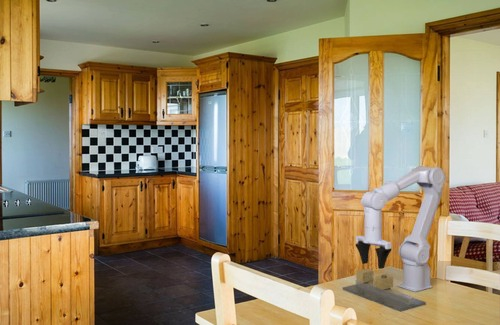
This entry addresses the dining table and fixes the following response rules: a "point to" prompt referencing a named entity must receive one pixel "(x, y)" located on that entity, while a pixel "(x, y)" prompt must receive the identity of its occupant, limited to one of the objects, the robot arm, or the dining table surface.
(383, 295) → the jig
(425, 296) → the dining table surface
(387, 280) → the tan holed block
